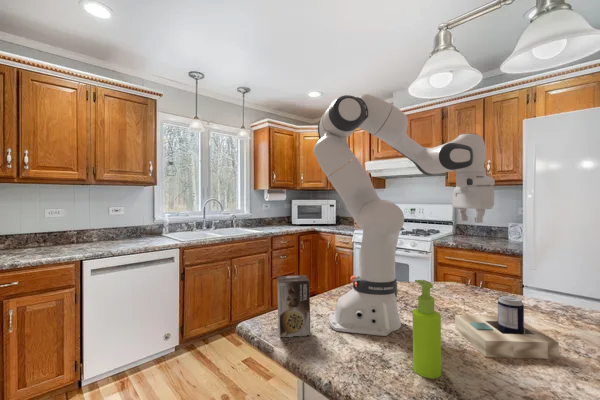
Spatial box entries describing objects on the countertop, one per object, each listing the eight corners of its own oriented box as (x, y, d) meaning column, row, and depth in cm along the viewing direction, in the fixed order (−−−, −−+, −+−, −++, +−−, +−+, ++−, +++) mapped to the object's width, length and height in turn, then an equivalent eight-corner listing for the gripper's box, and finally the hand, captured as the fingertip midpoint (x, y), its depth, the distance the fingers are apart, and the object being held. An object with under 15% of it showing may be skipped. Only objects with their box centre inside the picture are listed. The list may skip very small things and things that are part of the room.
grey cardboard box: (306, 326, 89) (306, 274, 89) (310, 336, 83) (310, 280, 83) (277, 328, 88) (276, 275, 88) (279, 338, 81) (278, 281, 81)
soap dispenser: (431, 360, 70) (430, 277, 70) (446, 378, 63) (445, 286, 63) (407, 361, 69) (406, 278, 69) (420, 378, 62) (419, 286, 62)
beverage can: (529, 348, 75) (528, 302, 75) (504, 346, 76) (504, 301, 76) (516, 338, 80) (516, 295, 80) (494, 336, 81) (493, 294, 81)
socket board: (485, 357, 71) (485, 339, 71) (455, 328, 87) (455, 313, 87) (558, 358, 70) (558, 341, 70) (514, 329, 86) (514, 314, 86)
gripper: (447, 183, 110) (448, 219, 110) (477, 179, 89) (477, 224, 89) (464, 183, 109) (465, 219, 109) (498, 179, 89) (498, 224, 89)
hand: (471, 221), depth 99 cm, fingers open, 8 cm apart
